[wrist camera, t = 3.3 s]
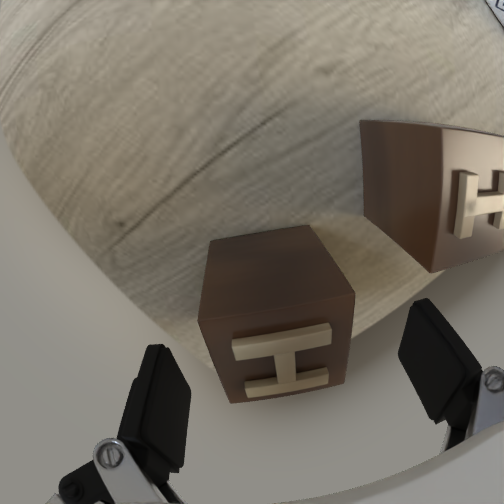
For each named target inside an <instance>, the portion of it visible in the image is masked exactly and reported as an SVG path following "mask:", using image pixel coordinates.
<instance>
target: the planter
mask: <svg viewBox="0 0 504 504" xmlns="http://www.w3.org/2000/svg"><path fill="white" fill-rule="evenodd" d="M486 2H487V3H488V5H489V6H490V8H491V9H492V11H493V12H494V14H495V15H496V17H497V18H498V20H499V21H500V22H501V24H502V25H503V27H504V0H486Z"/></svg>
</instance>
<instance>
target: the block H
mask: <svg viewBox="0 0 504 504" xmlns="http://www.w3.org/2000/svg"><path fill="white" fill-rule="evenodd" d="M354 305H355V292H354V290H353V289H352V287H351V286H350V284H349V282H348V281H347V279H346V278H345V276H344V275H343V273H342V272H341V270H340V269H339V267H338V266H337V264H336V263H335V261H334V260H333V258H332V257H331V255H330V254H329V252H328V251H327V249H326V248H325V247H324V245H323V244H322V242H321V241H320V239H319V238H318V236H317V235H316V234H315V232H314V231H313V229H312V228H311V227H310V225H305V226H299V227H292V228H286V229H280V230H273V231H267V232H261V233H255V234H249V235H243V236H237V237H231V238H225V239H219V240H213V241H210V246H209V252H208V257H207V263H206V269H205V275H204V281H203V288H202V294H201V300H200V307H199V313H198V320H197V321H198V324H199V327H200V329H201V332H202V335H203V337H204V340H205V343H206V345H207V348H208V351H209V353H210V356H211V358H212V361H213V363H214V366H215V368H216V371H217V373H218V376H219V378H220V381H221V383H222V386H223V388H224V390H225V392H226V395H227V397H228V400H229V402H230V403H241V402H250V401H258V400H265V399H271V398H278V397H284V396H290V395H295V394H300V393H305V392H310V391H315V390H319V389H324V388H328V387H332V386H336V385H340V384H343V383H344V382H345V376H346V369H347V363H348V356H349V350H350V341H351V334H352V325H353V316H354Z"/></svg>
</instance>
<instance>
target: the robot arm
mask: <svg viewBox="0 0 504 504" xmlns="http://www.w3.org/2000/svg"><path fill="white" fill-rule="evenodd" d="M398 357H399V360H400V362H401V363H402V365H403V367H404V369H405V371H406V373H407V375H408V376H409V378H410V380H411V382H412V384H413V386H414V388H415V390H416V392H417V394H418V396H419V398H420V400H421V402H422V404H423V406H424V408H425V410H426V412H427V414H428V416H429V418H430V419H431V420H434V422H435V424H438V423H440V422H442V421H444V420H446V421H447V423H448V427H447V431H446V434H445V438H444V441H443V444H442V447H441V451H440V454H439V455H437V456H435V457H434V458H431V459H429V460H428V461H425V462H423V463H421V464H419V465H416V466H414V467H412V468H410V469H407V470H405V471H402V472H400V473H398V474H395V475H392V476H390V477H387V478H384V479H382V480H379V481H376V482H373V483H370V484H367V485H363V486H360V487H357V488H353V489H349V490H346V491H342V492H338V493H333V494H329V495H325V496H320V497H315V498H309V499H304V500H298V501H290V502H283V503H274V504H504V370H503V369H501V368H500V367H497V366H491V367H488V368H486V369H485V370H484V371H482V369H481V368H482V367H481V365H480V364H479V362H478V361H477V360H476V358H475V357H474V355H473V354H472V352H471V351H470V350H469V348H468V347H467V346H466V344H465V343H464V342H463V340H462V339H461V338H460V336H459V335H458V334H457V333H456V331H455V330H454V329H453V327H452V326H451V325H450V324H449V322H448V321H447V320H446V319H445V318H444V316H443V315H442V314H441V313H440V311H439V310H438V309H437V308H436V307H435V306H434V304H433V303H432V302H431V301H430V300H429V299H428V298H425V299H421V300H418V301H415V302H414V303H413V305H412V306H411V307H410V310H409V314H408V318H407V322H406V326H405V330H404V333H403V337H402V340H401V344H400V347H399V351H398ZM190 402H191V389H190V387H189V385H188V383H187V382H186V380H185V378H184V376H183V374H182V372H181V370H180V368H179V367H178V364H177V363H176V361H175V359H174V357H173V355H172V353H171V351H170V349H169V348H168V347H167V348H166V347H165V346H164V345H163V344H155V345H148V346H147V348H146V351H145V354H144V358H143V361H142V364H141V367H140V370H139V373H138V377H137V378H135V379H134V380H133V383H132V386H131V389H130V392H129V396H128V399H127V402H126V406H125V409H124V413H123V417H122V420H121V424H120V427H119V431H118V435H117V439H114V438H107V439H104V440H102V441H100V442H99V443H98V444H97V445H96V447H95V448H94V451H93V460H92V461H90V462H89V463H87V464H85V465H83V466H82V467H80V468H78V469H76V470H75V471H73V472H71V473H69V474H68V475H66V476H65V477H63V478H62V479H61V481H60V483H59V494H56V493H55V494H54V495H53V496H52V497H51V498H50V500H49V501H48V502H47V503H46V504H187V503H186V501H185V500H184V499H183V498H182V497H181V496H180V494H179V493H178V492H177V491H176V490H175V488H174V487H173V486H172V485H171V483H170V482H169V481H168V480H169V473H170V472H171V473H179V468H182V467H183V465H184V457H185V446H186V436H187V427H188V418H189V410H190Z"/></svg>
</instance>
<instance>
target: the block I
mask: <svg viewBox="0 0 504 504" xmlns="http://www.w3.org/2000/svg"><path fill="white" fill-rule="evenodd" d="M359 123H360V133H361V146H362V161H363V183H364V216H365V217H366V218H367V219H368V220H370V221H371V222H372V223H373V224H375V225H376V226H377V227H378V228H379V229H381V230H382V231H383V232H384V233H385V234H387V235H388V236H389V237H390V238H391V239H392V240H394V241H395V242H396V243H397V244H398V245H399V246H400V247H402V248H403V249H404V250H405V251H406V252H407V253H408V254H409V255H411V256H412V257H413V258H414V259H415V260H416V261H417V262H418V263H419V264H420V265H422V266H423V267H424V268H425V269H426V270H427V271H428V272H429V273H434V272H438V271H441V270H445V269H448V268H451V267H455V266H458V265H462V264H465V263H468V262H471V261H474V260H477V259H480V258H484V257H487V256H490V255H493V254H496V253H498V252H501V251H503V249H504V136H503V135H499V134H495V133H490V132H486V131H481V130H476V129H470V128H465V127H458V126H452V125H445V124H437V123H427V122H414V121H395V120H360V121H359Z"/></svg>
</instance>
